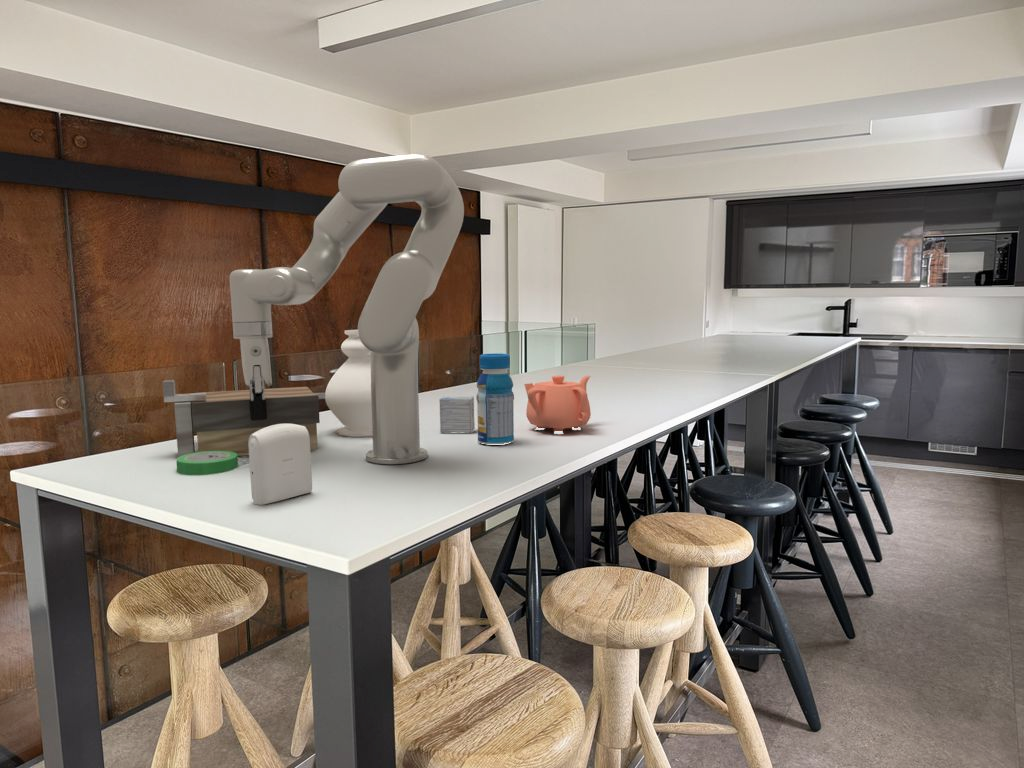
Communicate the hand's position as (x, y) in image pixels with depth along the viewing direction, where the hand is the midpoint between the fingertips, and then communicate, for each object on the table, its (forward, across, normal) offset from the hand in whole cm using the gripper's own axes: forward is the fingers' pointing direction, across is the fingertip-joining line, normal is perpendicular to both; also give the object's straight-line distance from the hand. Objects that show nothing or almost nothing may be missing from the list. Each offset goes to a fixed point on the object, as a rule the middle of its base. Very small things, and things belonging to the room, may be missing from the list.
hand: (258, 419), depth 148 cm
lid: (+2, +14, 0) cm, 14 cm away
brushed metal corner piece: (-4, +10, +14) cm, 18 cm away
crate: (+8, +14, +2) cm, 16 cm away
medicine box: (+9, +9, -46) cm, 48 cm away
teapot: (+9, +1, -70) cm, 71 cm away
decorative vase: (+8, +19, -25) cm, 33 cm away
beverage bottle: (+9, -7, -50) cm, 51 cm away
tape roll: (+9, -5, +10) cm, 14 cm away
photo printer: (+8, -33, -1) cm, 34 cm away
